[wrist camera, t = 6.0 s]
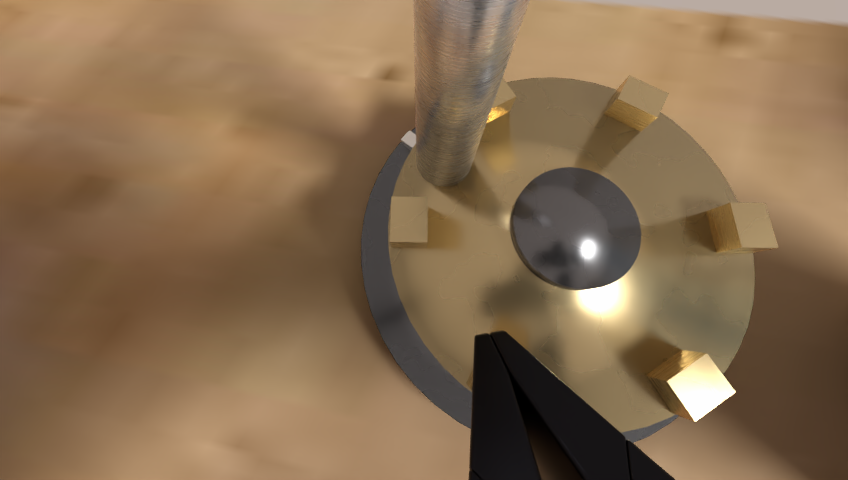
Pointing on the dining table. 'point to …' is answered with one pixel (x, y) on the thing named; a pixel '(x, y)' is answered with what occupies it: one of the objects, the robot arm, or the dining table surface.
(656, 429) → the dark gray round housing
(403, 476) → the dining table surface
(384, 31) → the dining table surface
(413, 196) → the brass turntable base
